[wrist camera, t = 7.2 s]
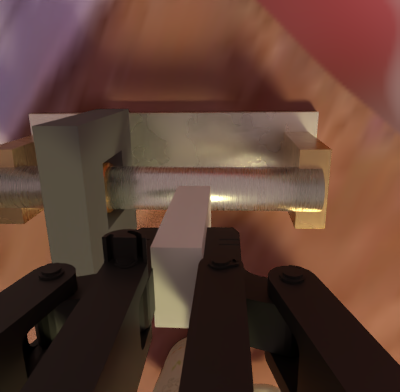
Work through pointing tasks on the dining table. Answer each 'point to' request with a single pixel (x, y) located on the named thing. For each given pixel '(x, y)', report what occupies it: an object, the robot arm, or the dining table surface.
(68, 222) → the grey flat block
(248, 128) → the metal rod stand
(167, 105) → the dining table surface
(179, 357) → the mug
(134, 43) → the dining table surface
